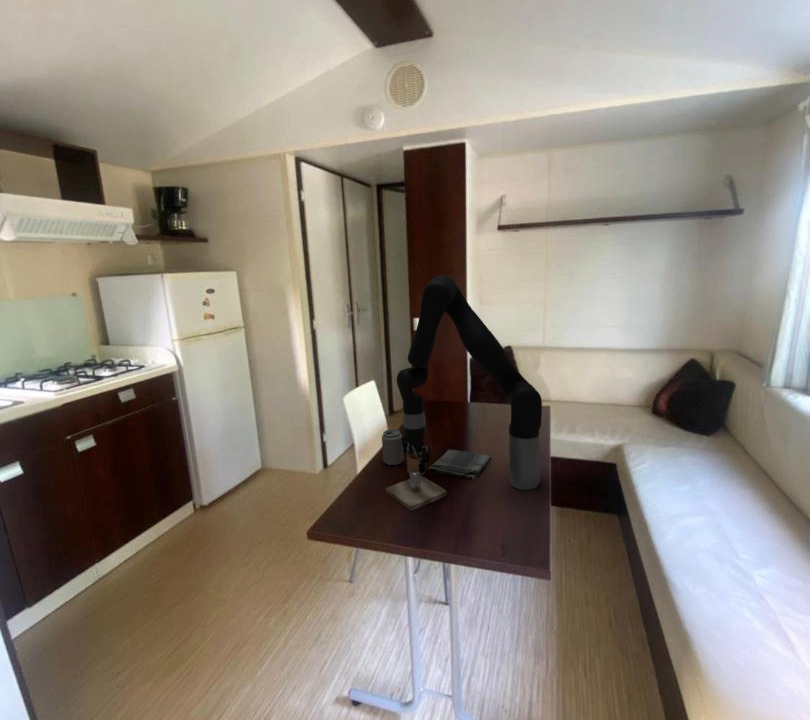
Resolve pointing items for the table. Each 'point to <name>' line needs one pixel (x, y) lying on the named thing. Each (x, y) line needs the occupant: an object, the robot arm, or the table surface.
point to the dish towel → (460, 464)
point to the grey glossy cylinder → (415, 481)
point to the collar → (413, 463)
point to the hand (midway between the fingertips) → (416, 469)
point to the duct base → (416, 493)
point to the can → (392, 447)
